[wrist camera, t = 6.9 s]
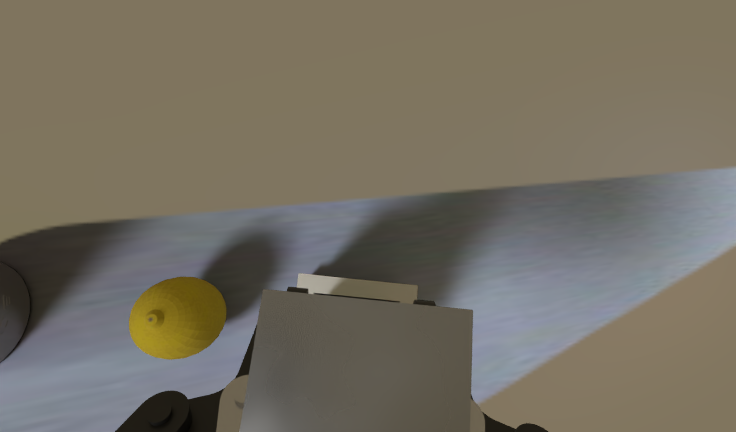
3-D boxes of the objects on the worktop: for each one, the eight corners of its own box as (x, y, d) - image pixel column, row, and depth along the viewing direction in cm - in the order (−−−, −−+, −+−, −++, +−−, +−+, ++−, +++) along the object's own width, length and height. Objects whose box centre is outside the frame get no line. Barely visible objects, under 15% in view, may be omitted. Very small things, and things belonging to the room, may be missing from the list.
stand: (296, 372, 28) (260, 422, 16) (309, 277, 29) (284, 264, 18) (399, 381, 28) (433, 438, 17) (405, 287, 30) (440, 280, 18)
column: (311, 368, 23) (220, 542, 7) (321, 295, 24) (263, 288, 8) (383, 375, 23) (467, 561, 7) (389, 301, 24) (472, 310, 8)
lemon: (241, 278, 29) (201, 271, 21) (237, 348, 28) (194, 368, 20) (173, 280, 29) (108, 274, 21) (166, 351, 27) (94, 372, 20)
